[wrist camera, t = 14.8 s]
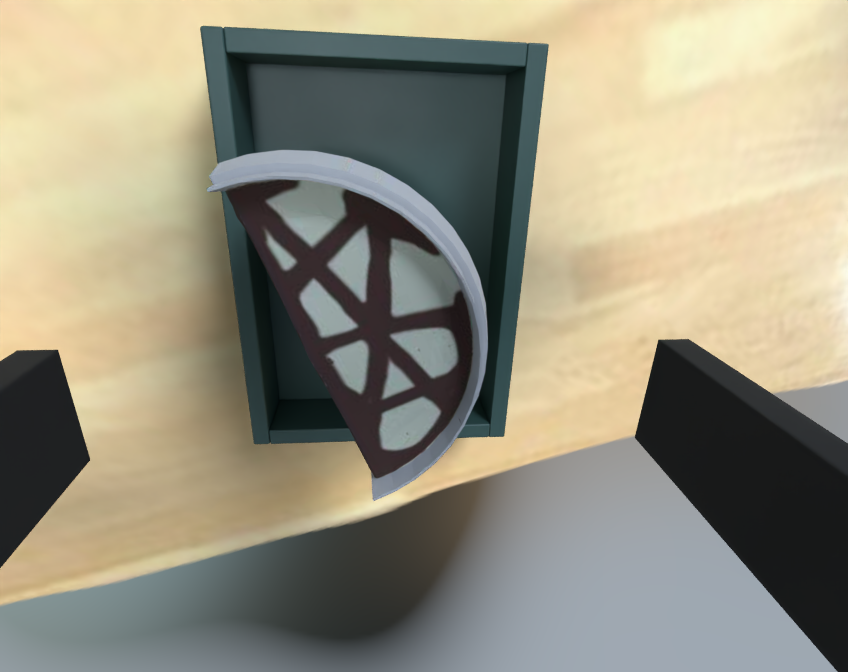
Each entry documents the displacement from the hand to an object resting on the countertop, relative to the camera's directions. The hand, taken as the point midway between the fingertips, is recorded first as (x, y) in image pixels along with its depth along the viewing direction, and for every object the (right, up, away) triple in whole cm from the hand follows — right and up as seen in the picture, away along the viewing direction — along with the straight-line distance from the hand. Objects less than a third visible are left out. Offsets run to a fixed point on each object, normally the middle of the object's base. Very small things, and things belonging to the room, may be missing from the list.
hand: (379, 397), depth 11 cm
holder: (-1, +6, +13) cm, 14 cm away
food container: (-1, +6, +13) cm, 14 cm away
